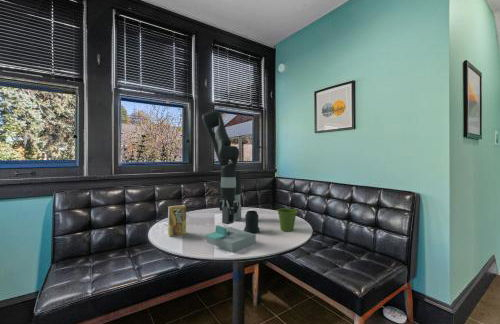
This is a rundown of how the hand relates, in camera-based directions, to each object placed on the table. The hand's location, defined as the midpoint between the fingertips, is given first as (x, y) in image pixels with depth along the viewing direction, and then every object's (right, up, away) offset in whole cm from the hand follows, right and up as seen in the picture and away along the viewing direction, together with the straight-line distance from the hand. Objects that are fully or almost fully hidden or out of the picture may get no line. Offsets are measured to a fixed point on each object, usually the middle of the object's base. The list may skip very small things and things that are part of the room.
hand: (228, 220), depth 113 cm
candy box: (-29, -10, +10) cm, 32 cm away
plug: (0, -1, 0) cm, 1 cm away
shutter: (-5, -6, -6) cm, 10 cm away
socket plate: (+2, -11, -1) cm, 11 cm away
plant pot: (+33, -11, +19) cm, 39 cm away
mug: (+12, -11, +18) cm, 24 cm away
